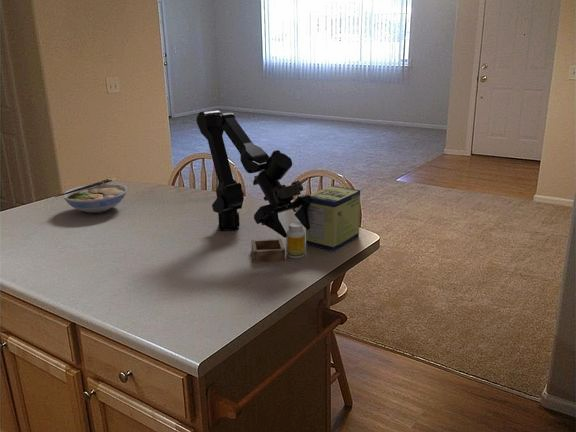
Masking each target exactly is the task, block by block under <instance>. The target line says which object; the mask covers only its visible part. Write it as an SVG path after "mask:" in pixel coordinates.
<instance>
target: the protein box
mask: <svg viewBox="0 0 576 432" xmlns="http://www.w3.org/2000/svg"><path fill="white" fill-rule="evenodd" d="M309 195H310V199H311V201H310V206H309V207H308V210H307V211H308V219H309V224H310V229H309V230H307V229H306V228H305V245H307V246H311V247H315V248H319V249H323V250H325V251H331V252H336V251H337V250H339V249H340V248H342V247H344V246H346V245H347V244H349V243H350V242H353V241H354V240H356V239H358V238H359V236H360V212H361V211H360V210H361V209H360V208H361V190H360V189H354V188H349V187H343V186H337V185H330V186H328V187H325V188H323V189H320V190H318V191H315V192H314V193H311V194H309ZM307 203H309V202H307Z"/></svg>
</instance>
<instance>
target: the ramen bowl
mask: <svg viewBox="0 0 576 432" xmlns="http://www.w3.org/2000/svg"><path fill="white" fill-rule="evenodd" d="M112 181H113V180H112V179H109V178H107V179H103V180H101V181H97V182H95V183H91V184H85V185H80V186H77V187H73V188H70V189H68V190H66V191H64V193H61V194H58V195H55V196H54V198H57V197H61V196H62V197H63V199H64V200H65V201H66V202H67V204H68V205H69V206H71V207H72V208H74V209H76V210H78V211H82V212H86V213H89V214H100V213H101V214H102V213H105V212H107V211H109V210H110V209H112V208H114V207H116V206H118V205H119V204H120V203H121V202H122V200H124V198H125V196H126V194H127V192H128V188H127V186H125V185H123V184H119V183H112ZM110 182H111V183H110Z"/></svg>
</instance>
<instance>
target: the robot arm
mask: <svg viewBox="0 0 576 432" xmlns="http://www.w3.org/2000/svg"><path fill="white" fill-rule="evenodd" d="M196 124H197V127H198V129H199V131H200V132H199V133H200V134H201V135H202V136H203V137H204V138H205V139H206V140H207V144H208V146H209V147H208V148H209V152H210V156H211V158H212V162H213V166H214V170H215V174H216V178H217V182H218V183H217V187H216V190H215V194H216V199H215V200H214V201H213V203H212V205H211V208H212V210H213V212H215V213H218V214H217V218H218V231H219V232H220V231H221V232H223V231H238V230H239V227H240V226H241V223H240V212H239V211H238V210H241V209H242V208H243V204H244V201H245V196H244V195H245V193H244V191H243V186H242V184H241V182H237V181H236V180H235V179H234V176H233V172H232V168H231V165H230V161H229V157H228V153H227V149H226V146H225V145H226V144H225V142H224V138H223V135H224V133H225V134H226V135H227V138H229V139H230V142H232V144H233V146H234V147H235V149H236V150H237V151H238V153H239V155H240V163H241V165H242V167H243V168H244V171H246V172H247V173H248V174H255V173H257V175H254V179H253V182H252V185H253V186H257V185H259V188H260V189H261V191H262V193H263V195H264V197H263V200H264V201H265V202H268V204H266V205H261V206H260V207H259V208H258V209H257V210H256V212H255V213H254V215H253V219H254V221H255V223H256V224H257V225H259V224H261V226H266V227H267V228H269V229H270V230H273V231H274V232H275V233H277V234H278V235H280V236H282V237H283V238H285V239H286V237H287V234H286V233H287V231H286V229H285V228H284V226H283V224H282V223H281V221H280V219H279V213H284V212H287V211H290V210H291V211H293V212H295V213H294V216H295V217H296V218H297V220H298V221H299V223H302V226H303V228H305V230H306V229H307V230H309V229H310V224H309V219H308V211H307V210H308V207H309V206H310V201H311V199H310V195H311V194H307V193H306V194H302V191H304V187H303V184H302V183H301V181H300V180H295V181H293V182H291V185H285V184H281V182H280V180H282V179H283V178H284V177H285V175H287V173H288V172H289V170H290V169H291V168H292V166H293V161H292V160H293V159H291V157H289V156H288V155H287V154H285V153H283V152H281V151H280V149H277V150H273V151H272V153H271V154H270V156H269V155H268V153H267V152H266V151H265V150H264V149H263V148H262V147H260V146H259V145H257V144H256V145H255V143H254V142H253V141H252V140H251V139H250V137H249V136H248V134H247V133H246V132H245V131H244V129H243V128H242V126H241V125H240V124H239V122H238V120H237V119H236V116H235V114H234V113H233V112H231V111H227V112H222V111H220V110H218V109H213V110H207V111H206V110H204V111H200V112H198V114H197V116H196ZM296 196H297V197H296ZM295 197H296V198H295ZM293 200H294V201H293ZM291 201H292V202H291ZM307 202H309V203H307Z"/></svg>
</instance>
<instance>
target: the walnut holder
mask: <svg viewBox="0 0 576 432" xmlns="http://www.w3.org/2000/svg"><path fill="white" fill-rule="evenodd" d="M250 243H251V254H252V258H253V264H254V263H267V262H270V263H271V262H280V261H281V262H283V261H284V262H285V261H286V247H285V245H284V242H283V239H282V238H270V239H269V238H268V239H267V238H266V239H252V240H251V242H250Z"/></svg>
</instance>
